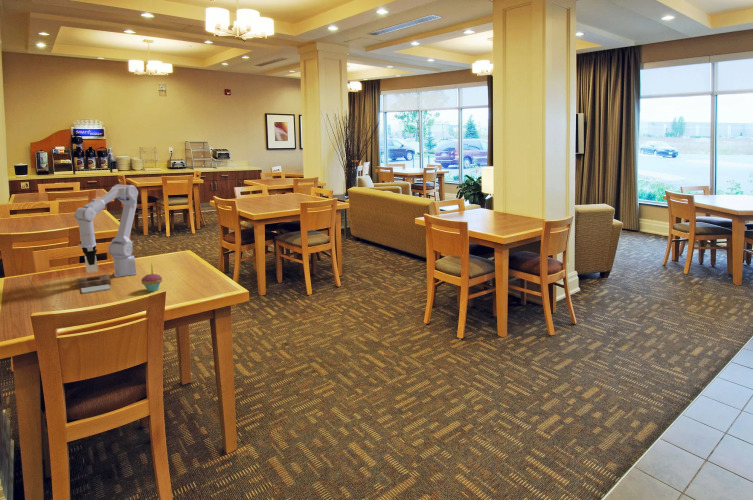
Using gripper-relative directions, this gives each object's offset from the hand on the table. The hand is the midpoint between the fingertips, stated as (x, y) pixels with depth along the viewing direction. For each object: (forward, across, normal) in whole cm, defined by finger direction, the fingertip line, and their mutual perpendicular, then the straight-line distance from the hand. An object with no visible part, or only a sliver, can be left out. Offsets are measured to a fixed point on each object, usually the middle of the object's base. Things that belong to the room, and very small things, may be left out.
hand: (91, 263), depth 234 cm
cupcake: (+10, +24, +22) cm, 33 cm away
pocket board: (+10, 0, 0) cm, 10 cm away
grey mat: (+10, +10, 0) cm, 14 cm away
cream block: (+4, 0, 0) cm, 4 cm away
